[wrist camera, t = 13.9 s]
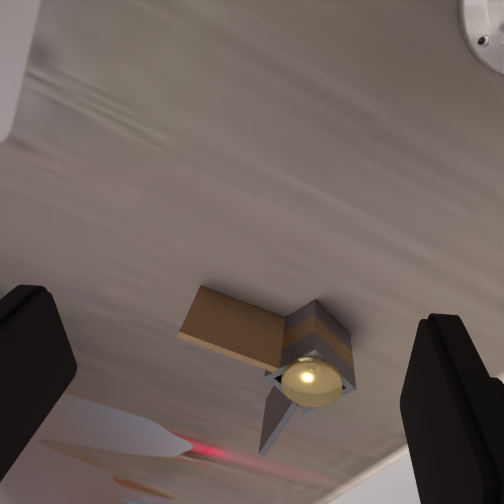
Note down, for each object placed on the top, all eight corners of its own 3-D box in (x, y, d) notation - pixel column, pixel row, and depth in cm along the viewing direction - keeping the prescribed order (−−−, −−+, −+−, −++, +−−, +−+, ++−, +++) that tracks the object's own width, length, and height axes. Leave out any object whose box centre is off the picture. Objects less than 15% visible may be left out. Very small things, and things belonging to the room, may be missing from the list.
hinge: (258, 241, 41) (246, 284, 34) (368, 353, 46) (376, 409, 39) (164, 313, 48) (139, 360, 41) (269, 402, 53) (262, 457, 46)
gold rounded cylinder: (315, 300, 43) (315, 355, 35) (348, 333, 44) (355, 392, 37) (276, 325, 45) (268, 381, 38) (309, 355, 47) (308, 414, 40)
